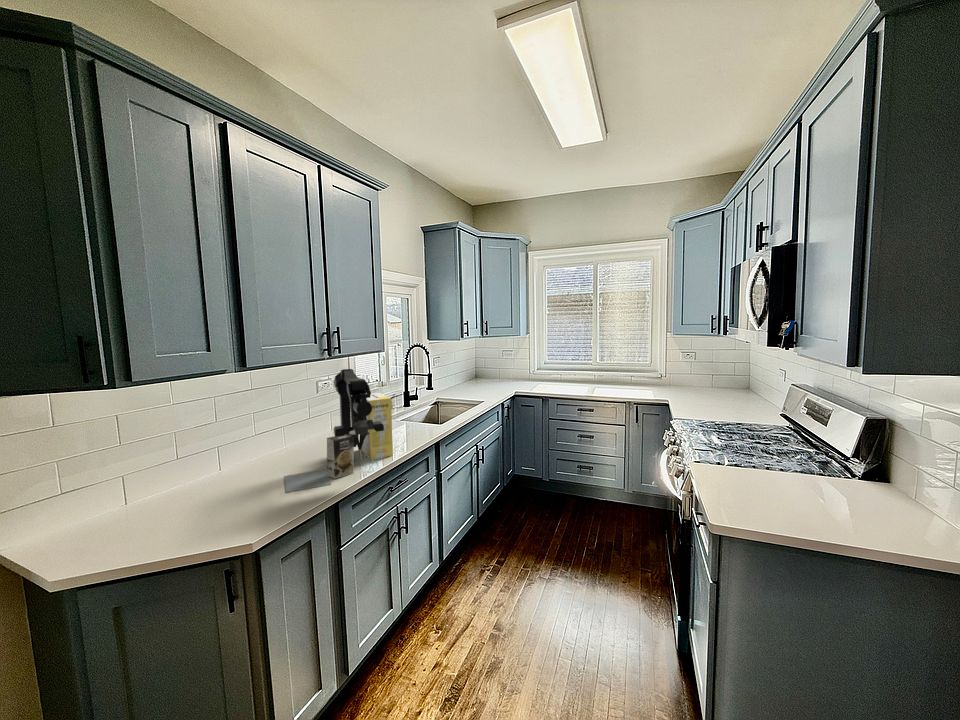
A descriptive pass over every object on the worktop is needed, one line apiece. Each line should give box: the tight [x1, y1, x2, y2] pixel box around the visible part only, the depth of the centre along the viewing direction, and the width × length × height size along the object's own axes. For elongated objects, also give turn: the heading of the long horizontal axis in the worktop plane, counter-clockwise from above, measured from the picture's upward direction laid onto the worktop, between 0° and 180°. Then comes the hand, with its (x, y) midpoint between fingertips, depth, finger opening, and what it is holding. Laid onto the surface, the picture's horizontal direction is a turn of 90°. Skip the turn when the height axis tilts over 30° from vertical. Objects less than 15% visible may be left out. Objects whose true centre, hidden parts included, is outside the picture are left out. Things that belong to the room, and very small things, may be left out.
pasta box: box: [360, 392, 394, 461], centre depth 194 cm, size 18×10×28 cm, turn 31°
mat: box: [284, 468, 332, 494], centre depth 162 cm, size 18×16×1 cm
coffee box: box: [326, 434, 355, 480], centre depth 167 cm, size 9×6×16 cm
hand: (359, 449), depth 159 cm, fingers closed
